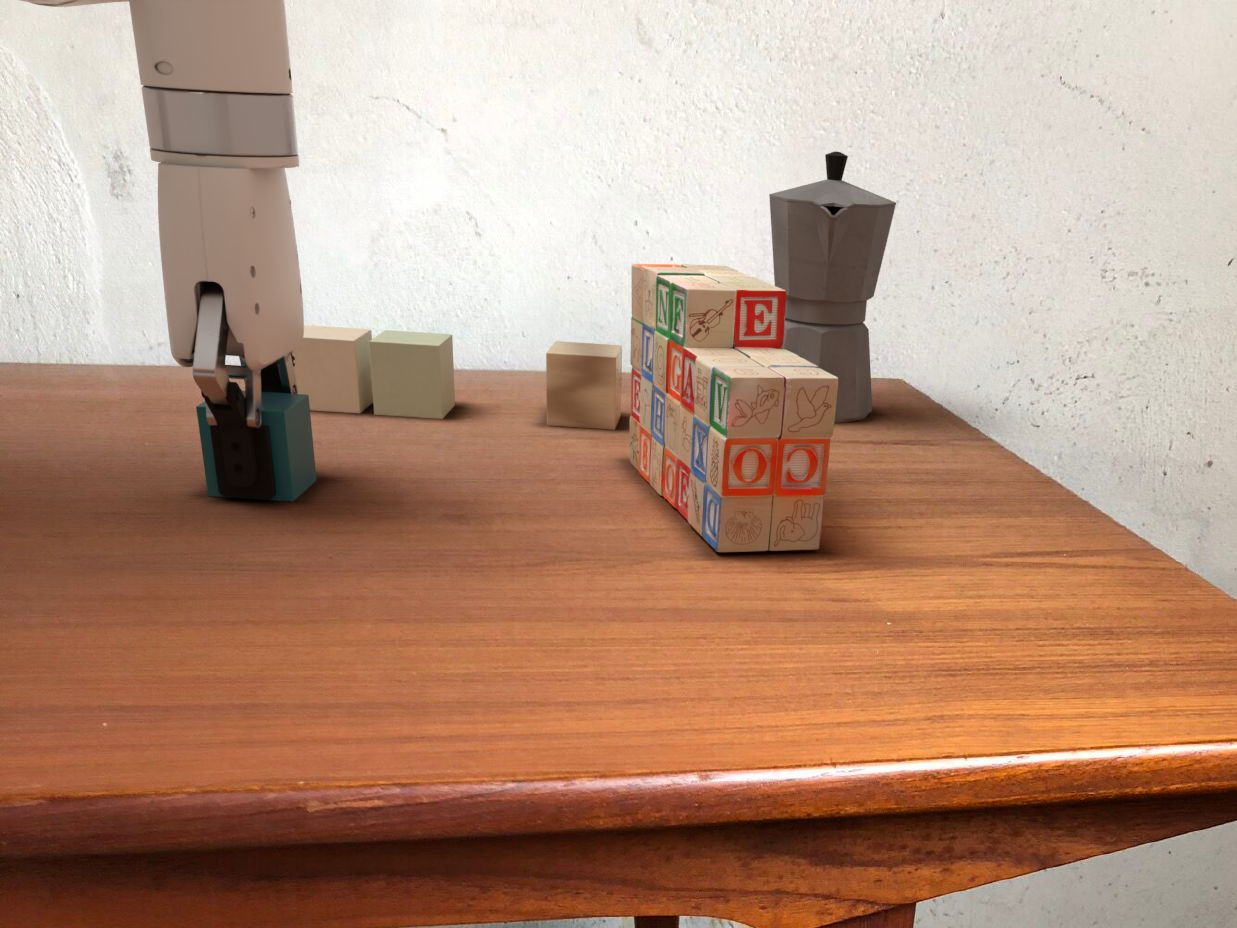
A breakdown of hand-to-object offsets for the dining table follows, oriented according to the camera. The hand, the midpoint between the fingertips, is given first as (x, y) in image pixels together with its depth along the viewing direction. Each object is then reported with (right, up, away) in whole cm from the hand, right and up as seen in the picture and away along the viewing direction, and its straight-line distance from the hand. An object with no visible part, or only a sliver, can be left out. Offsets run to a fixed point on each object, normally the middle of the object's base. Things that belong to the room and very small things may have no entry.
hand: (262, 481), depth 83 cm
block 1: (-1, +13, +21) cm, 24 cm away
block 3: (+17, +11, +21) cm, 29 cm away
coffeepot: (+35, +15, +29) cm, 48 cm away
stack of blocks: (+27, -1, +3) cm, 27 cm away
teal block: (0, 0, 0) cm, 0 cm away
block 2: (+5, +12, +21) cm, 24 cm away
